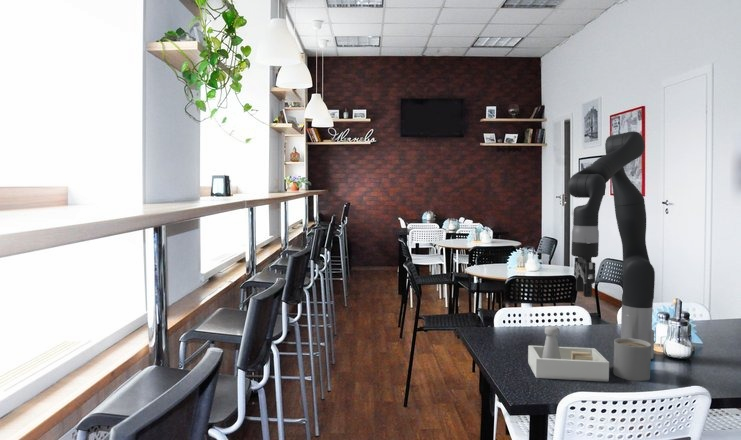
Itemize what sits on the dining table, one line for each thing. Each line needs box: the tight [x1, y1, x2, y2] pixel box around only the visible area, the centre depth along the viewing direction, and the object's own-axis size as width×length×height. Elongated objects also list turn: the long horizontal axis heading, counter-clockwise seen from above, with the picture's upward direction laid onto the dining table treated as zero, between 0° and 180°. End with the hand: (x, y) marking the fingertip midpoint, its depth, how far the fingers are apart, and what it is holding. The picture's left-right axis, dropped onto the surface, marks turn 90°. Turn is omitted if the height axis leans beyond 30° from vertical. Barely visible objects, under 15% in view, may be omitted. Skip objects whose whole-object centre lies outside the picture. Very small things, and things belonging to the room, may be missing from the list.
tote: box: [527, 345, 610, 382], centre depth 161 cm, size 20×14×6 cm
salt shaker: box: [542, 325, 561, 359], centre depth 162 cm, size 6×6×13 cm
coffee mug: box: [612, 337, 652, 382], centre depth 160 cm, size 13×10×10 cm
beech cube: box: [571, 351, 593, 361], centre depth 161 cm, size 5×5×5 cm
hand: (583, 293), depth 160 cm, fingers open, 8 cm apart
